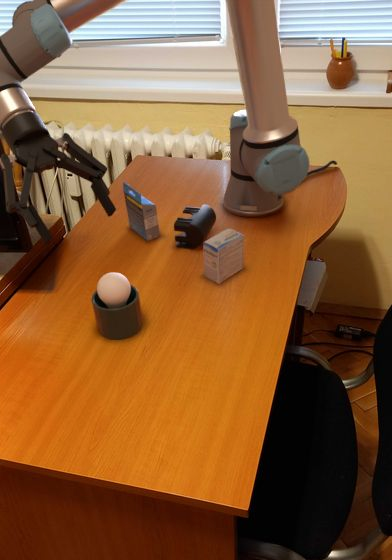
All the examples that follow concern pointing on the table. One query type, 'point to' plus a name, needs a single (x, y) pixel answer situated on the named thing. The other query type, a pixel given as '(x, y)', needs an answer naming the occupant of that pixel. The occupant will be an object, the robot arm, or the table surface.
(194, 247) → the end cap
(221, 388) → the table surface
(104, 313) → the pen cup
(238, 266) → the medicine box
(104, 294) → the lightbulb
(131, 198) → the label tape box
